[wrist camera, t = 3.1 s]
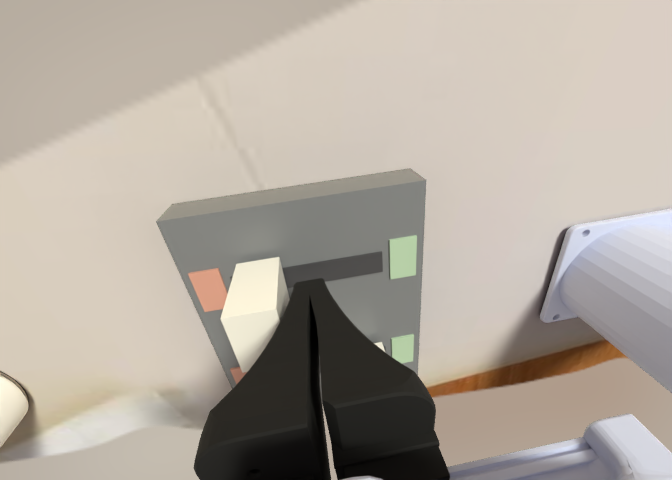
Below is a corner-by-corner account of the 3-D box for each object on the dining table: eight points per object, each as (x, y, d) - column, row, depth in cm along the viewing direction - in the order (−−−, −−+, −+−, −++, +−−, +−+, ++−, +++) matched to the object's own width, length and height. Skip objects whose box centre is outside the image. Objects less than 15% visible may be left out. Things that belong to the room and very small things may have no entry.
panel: (410, 168, 15) (427, 180, 13) (407, 361, 22) (417, 386, 21) (172, 204, 14) (154, 222, 12) (249, 392, 22) (246, 421, 20)
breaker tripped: (279, 256, 14) (276, 308, 11) (291, 305, 15) (291, 363, 12) (236, 263, 14) (220, 318, 10) (252, 311, 15) (242, 372, 12)
